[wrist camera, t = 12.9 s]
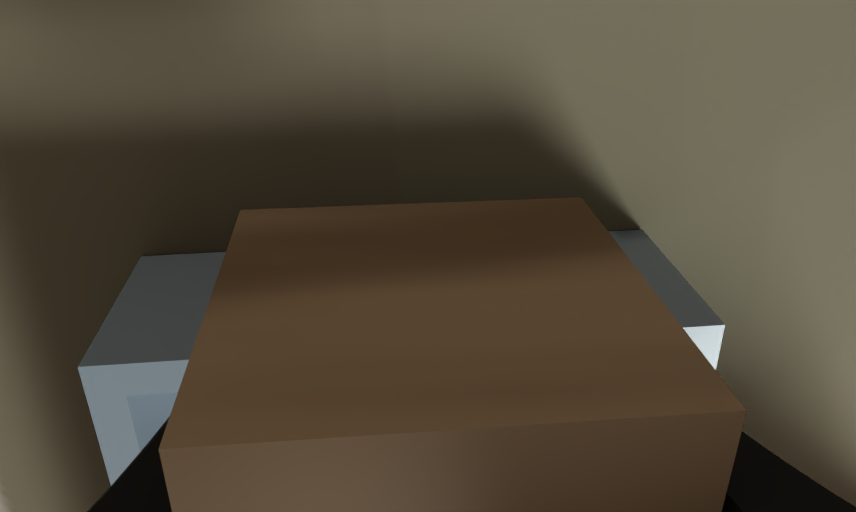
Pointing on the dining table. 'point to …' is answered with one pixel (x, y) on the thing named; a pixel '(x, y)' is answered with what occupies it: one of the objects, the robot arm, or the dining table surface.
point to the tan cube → (443, 370)
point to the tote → (182, 316)
